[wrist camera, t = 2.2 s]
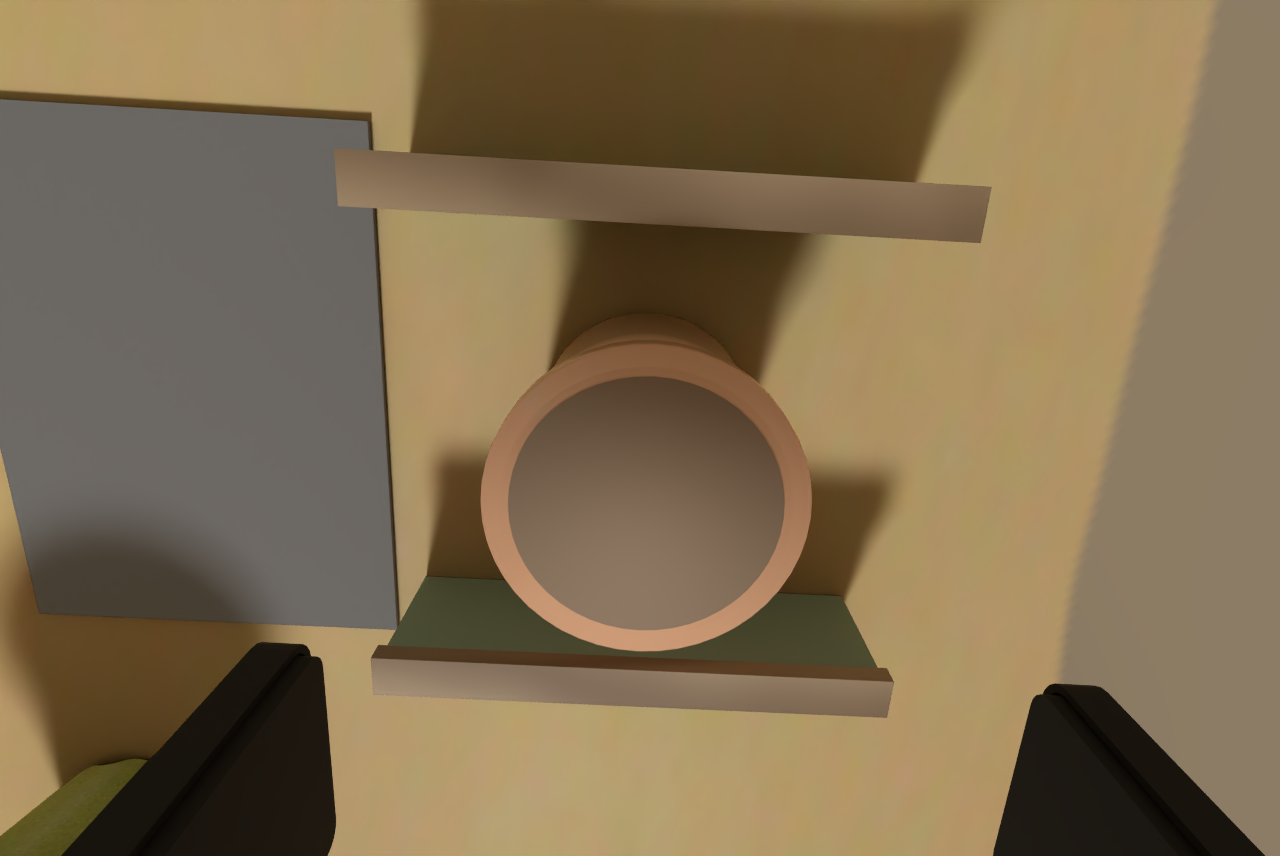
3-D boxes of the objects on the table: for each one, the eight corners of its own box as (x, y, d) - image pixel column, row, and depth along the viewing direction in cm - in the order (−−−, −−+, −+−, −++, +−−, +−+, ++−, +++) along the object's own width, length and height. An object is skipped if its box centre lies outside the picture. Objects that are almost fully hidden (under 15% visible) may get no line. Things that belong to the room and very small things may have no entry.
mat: (-77, 95, 19) (-84, 94, 19) (370, 122, 20) (367, 121, 19) (43, 610, 24) (39, 613, 24) (398, 626, 24) (397, 630, 24)
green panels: (401, 158, 20) (333, 148, 15) (914, 189, 20) (991, 187, 16) (421, 604, 24) (373, 695, 20) (842, 624, 24) (886, 717, 20)
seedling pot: (529, 292, 21) (477, 338, 14) (773, 305, 21) (834, 357, 14) (528, 515, 23) (482, 645, 17) (748, 526, 23) (791, 659, 17)
